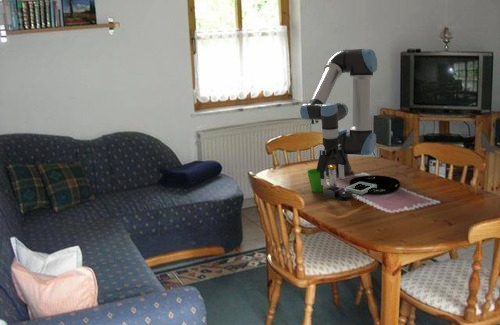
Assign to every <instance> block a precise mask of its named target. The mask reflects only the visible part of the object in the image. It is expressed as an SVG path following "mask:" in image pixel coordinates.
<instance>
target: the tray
mask: <svg viewBox="0 0 500 325" xmlns="http://www.w3.org/2000/svg"><path fill="white" fill-rule="evenodd" d="M358 184H362V185H365V186H364V187H366V186H370V187H366V188H364V189H361V190H360V189H355V186H356V185H358ZM371 188H376V189H377V188H378V184H376V183H369V182H365V181H358V182H356V183H353V184H350V185H348V186H346V187H345V188H344V189H348V191H352V192H353V194H355V195H356V194H357V195H361V196H362V195H364V194H366V193H368V190H369V189H371Z"/></svg>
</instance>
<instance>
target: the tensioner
mask: <svg viewBox="0 0 500 325" xmlns="http://www.w3.org/2000/svg"><path fill="white" fill-rule="evenodd" d="M320 197H325V198H328V199H334V200H338V201H341V202H342V201H343V202H347V201H350V200H351V199H354V198H357V195H356V194H354V193H353V192H352V191H348V189H345V188H344V187H341V186H337V190H335V191H333V190H330V186H328V187H325V188H323V191H322V194H321V195H320Z"/></svg>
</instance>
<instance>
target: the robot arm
mask: <svg viewBox="0 0 500 325" xmlns="http://www.w3.org/2000/svg"><path fill="white" fill-rule="evenodd" d="M377 70H378V59H377V55H376V53H375V50H373V49H370V48H357V49H355V48H354V49H342V50H339V51H337V52H336V53H335V54H333V55H332V56H331V57H330V58H329V59H328V60H327V62H326V63H325V64H324V68H323V74H322V75H321V77H320V80H319V82H318V83H317V85H316V87H315V90H314V92H313V94H312V95H311V98H310V100H309V102H308V103H303V104H302V105H301V106H300V110H299V112H300V114H299V115H300V117H301V118H302V119H303V120H310V121H311V120H312V121H313V120H314V121H316V120H317V121H319V120H320V121H321V131H322V132H321V135H322V136H321V137H323V138H322V146H323V147H324V149H323V150H322V149H320V150H319V155H318V162H317V165H316V168H317V169H316V171H318V172H320V179H321V185H323V187H326V186H328V184H327V182H328V181H327V176H328V177H329V169H328V166H329V165H336V177H338V178H339V179H343V180H345V176H347V175H350V174H351V173H352V172H353V171H352V170H353V168H352V166H351V163H350V161H349V156H348V155H353V156H357V155H358V156H371V155H372V153H373V152H374V151H375V149H376V144H377V134H376V133H374V132H373V128H372V127H371V126H370V115H371V114H370V110H371V107H370V102H371V101H370V99H371V98H370V97H371V96H370V94H371V93H370V92H371V91H370V90H371V78H372V77H373V76H374V73H375V72H377ZM344 73H348V74H349V77H350V78H351V79H352V125H351V127H350V128H349V131H347V129H346V128H339V121H341V120H343V119H345V118H346V117H347V116H348V114H349V108H348V106H347V104H345V103H343V102H337V103H335V102H328V103H327V101H328V100H329V97H330V95H331V93H332V91H333V89H334V87H335V85H336V83H337V81H338V78H340V77H341V76H342V75H343V74H344ZM322 169H323V170H322ZM325 170H326V171H325Z"/></svg>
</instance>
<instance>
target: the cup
mask: <svg viewBox="0 0 500 325" xmlns="http://www.w3.org/2000/svg"><path fill="white" fill-rule="evenodd" d="M316 169H317V167H315V168H310V169H308V170H306V173H307V176H308V179H309V186H310V189H311V193H321V192H322V193H323V189H324V185H321V179H320V172H318V171H316ZM322 170H323V169H322ZM325 171H326V170H325Z"/></svg>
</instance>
